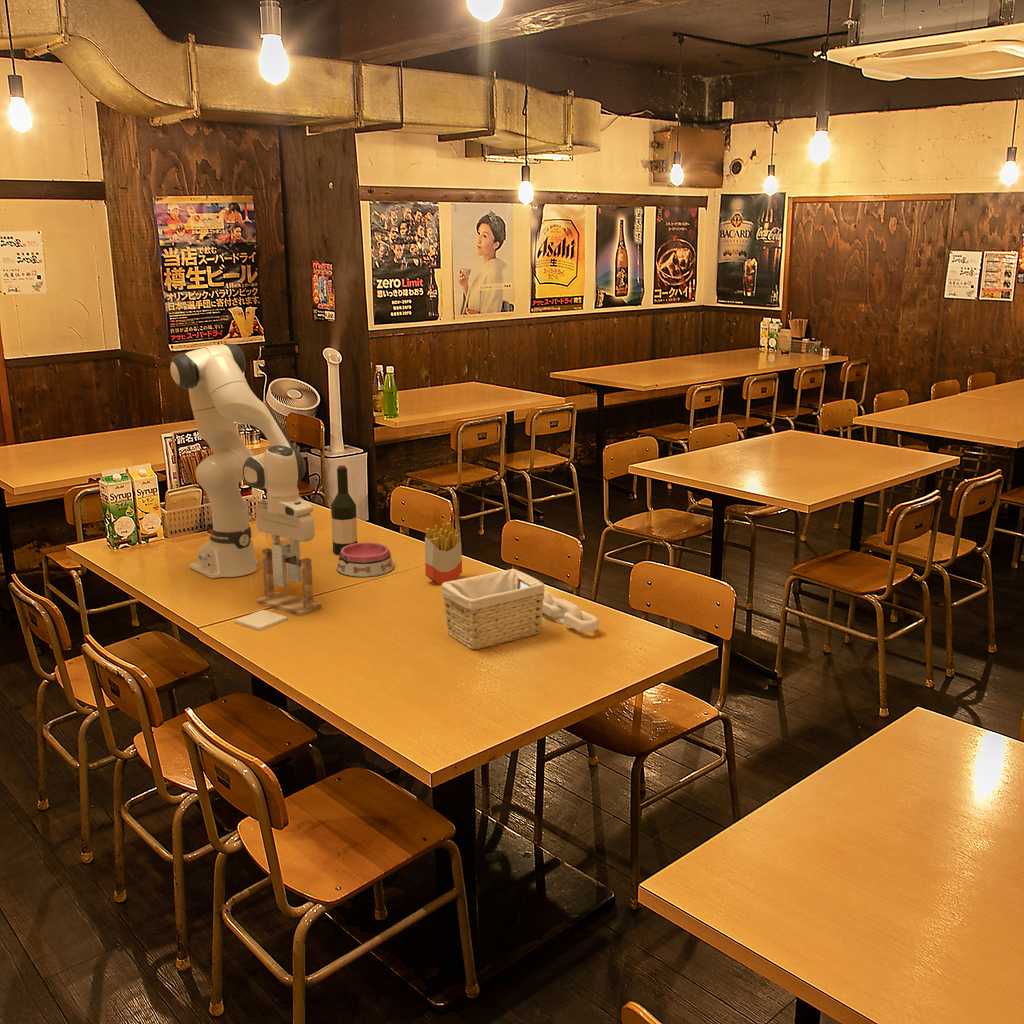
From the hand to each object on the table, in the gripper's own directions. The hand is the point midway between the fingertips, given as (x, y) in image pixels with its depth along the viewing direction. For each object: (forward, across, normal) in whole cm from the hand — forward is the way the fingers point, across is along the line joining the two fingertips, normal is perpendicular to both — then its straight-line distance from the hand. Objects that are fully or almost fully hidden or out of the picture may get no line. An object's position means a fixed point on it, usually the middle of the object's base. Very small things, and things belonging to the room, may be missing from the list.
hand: (285, 551), depth 275 cm
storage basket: (+17, +61, +17) cm, 65 cm away
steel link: (+9, 0, 0) cm, 9 cm away
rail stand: (+16, 0, 0) cm, 16 cm away
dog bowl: (+17, -5, +38) cm, 42 cm away
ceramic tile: (+16, +3, -13) cm, 21 cm away
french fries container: (+17, +23, +43) cm, 52 cm away
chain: (+17, +70, +36) cm, 80 cm away
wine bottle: (+17, -23, +47) cm, 55 cm away
